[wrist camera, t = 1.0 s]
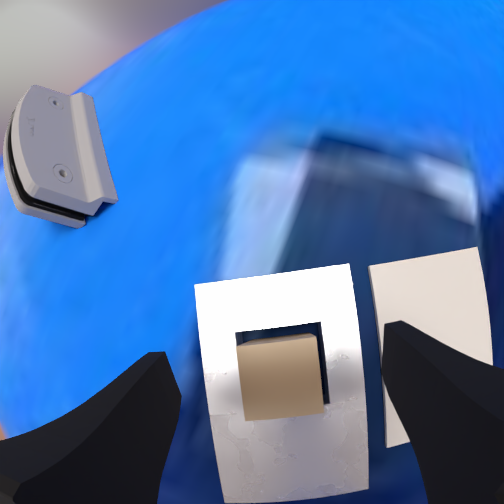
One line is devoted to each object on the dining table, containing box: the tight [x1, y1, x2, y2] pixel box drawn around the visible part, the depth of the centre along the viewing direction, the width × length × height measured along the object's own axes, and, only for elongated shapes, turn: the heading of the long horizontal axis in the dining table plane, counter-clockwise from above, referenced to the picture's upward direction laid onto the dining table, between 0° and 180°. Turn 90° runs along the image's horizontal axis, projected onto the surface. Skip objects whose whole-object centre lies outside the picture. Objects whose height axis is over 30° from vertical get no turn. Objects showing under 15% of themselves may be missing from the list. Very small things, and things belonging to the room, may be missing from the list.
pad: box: [368, 247, 493, 448], centre depth 19 cm, size 14×10×1 cm
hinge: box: [3, 85, 118, 228], centre depth 24 cm, size 17×5×10 cm, turn 26°
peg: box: [236, 332, 324, 421], centre depth 18 cm, size 4×4×7 cm
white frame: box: [195, 264, 368, 503], centre depth 19 cm, size 16×10×3 cm, turn 7°
